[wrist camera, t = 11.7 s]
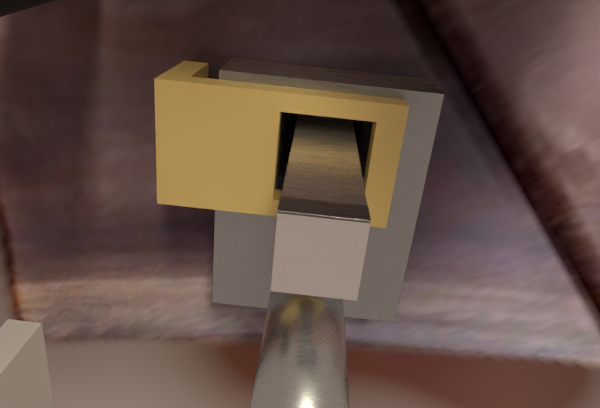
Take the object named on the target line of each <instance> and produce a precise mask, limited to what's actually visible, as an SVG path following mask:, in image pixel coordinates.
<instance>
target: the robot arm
mask: <svg viewBox="0 0 600 408" xmlns="http://www.w3.org/2000/svg"><path fill="white" fill-rule="evenodd" d="M0 408H54V402H53V397H52V389H51V382H50V376H49V369H48V362H47V356H46V348H45V341H44V335H43V328H42V323H37V322H28V321H18V320H9V319H8V320H7V321H6V322H5V323H4V324H3V325H2V326H1V328H0Z"/></svg>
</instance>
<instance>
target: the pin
mask: <svg viewBox="0 0 600 408" xmlns="http://www.w3.org/2000/svg"><path fill="white" fill-rule="evenodd" d="M370 222H371V219H370V213H369V207H368V206H367V200H366V194H365V189H364V183H363V177H362V172H361V166H360V160H359V155H358V149H357V143H356V137H355V132H354V126H353V120H352V119H343V118H333V117H324V116H315V115H306V114H298V118H297V122H296V127H295V132H294V137H293V141H292V146H291V151H290V156H289V160H288V165H287V170H286V175H285V179H284V184H283V189H282V194H281V196H280V200H279V205H278V209H277V220H276V231H275V243H274V254H273V266H272V277H271V291H274V292H283V293H292V294H301V295H310V296H319V297H328V298H337V299H346V300H355V301H357V298H358V292H359V287H360V281H361V275H362V270H363V264H364V258H365V252H366V247H367V241H368V235H369V230H370V224H371V223H370Z"/></svg>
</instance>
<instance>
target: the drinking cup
mask: <svg viewBox="0 0 600 408" xmlns="http://www.w3.org/2000/svg"><path fill="white" fill-rule="evenodd" d="M50 1H54V0H0V17H1V16H5V15H8V14H11V13H14V12H18V11H21V10H24V9H28V8H31V7H34V6H37V5H41V4H44V3H47V2H50Z"/></svg>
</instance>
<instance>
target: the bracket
mask: <svg viewBox="0 0 600 408" xmlns="http://www.w3.org/2000/svg"><path fill="white" fill-rule="evenodd" d="M208 70H209V63H203V62H194V61H183V62H181V63H179V64H178V65H176V66H174V67H173V68H171V69H169V70H168V71H166V72H164V73H163V74H161V75H159V76H158V77H156V78H155V79H154V89H155V131H156V173H157V204H166V205H175V206H184V207H194V208H203V209H212V210H221V211H231V212H240V213H249V214H259V215H268V216H277V209H278V205H279V200H280V196H281V194H282V190H276V189H275V188H276V176H277V164H278V152H279V140H280V128H281V116H282V112H287V113H296V114H306V115H315V116H324V117H333V118H343V119H352V120H361V121H371V122H373V125H372V131H371V137H370V143H369V149H368V155H367V162H366V168H365V174H364V180H363V183H364V189H365V194H366V200H367V206H368V207H369V213H370V219H371V222H370V223H371V224H370V227H379V228H386V226H387V220H388V215H389V210H390V205H391V199H392V194H393V189H394V184H395V179H396V173H397V168H398V163H399V158H400V152H401V147H402V142H403V137H404V132H405V126H406V121H407V116H408V111H409V105H408V103H407V102H406V100H405V99H396V98H386V97H377V96H368V95H358V94H349V93H340V92H331V91H321V90H312V89H303V88H294V87H284V86H275V85H266V84H256V83H247V82H238V81H229V80H219V79H210V78H208Z"/></svg>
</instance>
